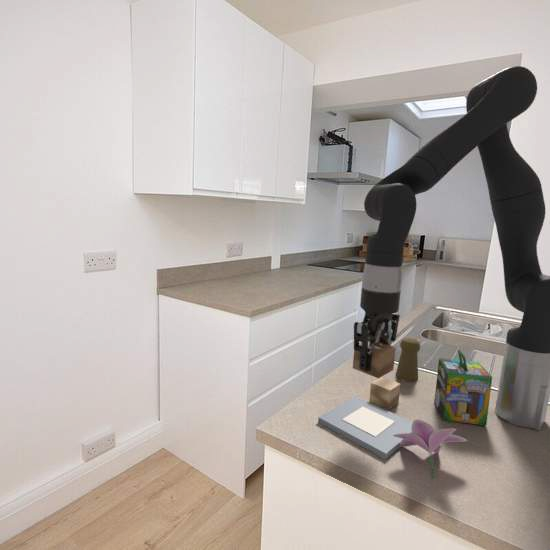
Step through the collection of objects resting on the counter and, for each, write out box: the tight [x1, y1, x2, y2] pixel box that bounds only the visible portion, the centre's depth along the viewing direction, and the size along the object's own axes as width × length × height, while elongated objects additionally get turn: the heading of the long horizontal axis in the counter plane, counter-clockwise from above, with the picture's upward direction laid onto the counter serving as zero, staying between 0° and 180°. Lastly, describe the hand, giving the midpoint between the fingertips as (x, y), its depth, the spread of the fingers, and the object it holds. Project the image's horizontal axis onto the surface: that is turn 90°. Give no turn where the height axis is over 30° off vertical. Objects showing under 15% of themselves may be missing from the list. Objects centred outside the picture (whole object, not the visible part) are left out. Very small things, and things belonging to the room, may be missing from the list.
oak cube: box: [368, 376, 401, 411], centre depth 88 cm, size 5×5×5 cm
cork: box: [395, 337, 421, 383], centre depth 102 cm, size 6×6×11 cm
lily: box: [393, 419, 468, 479], centre depth 66 cm, size 12×12×10 cm
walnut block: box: [352, 342, 397, 379], centre depth 76 cm, size 6×6×5 cm
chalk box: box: [433, 348, 493, 426], centre depth 84 cm, size 9×9×15 cm
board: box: [317, 396, 413, 460], centre depth 78 cm, size 16×14×1 cm
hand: (373, 365), depth 76 cm, fingers closed on walnut block, 6 cm apart
